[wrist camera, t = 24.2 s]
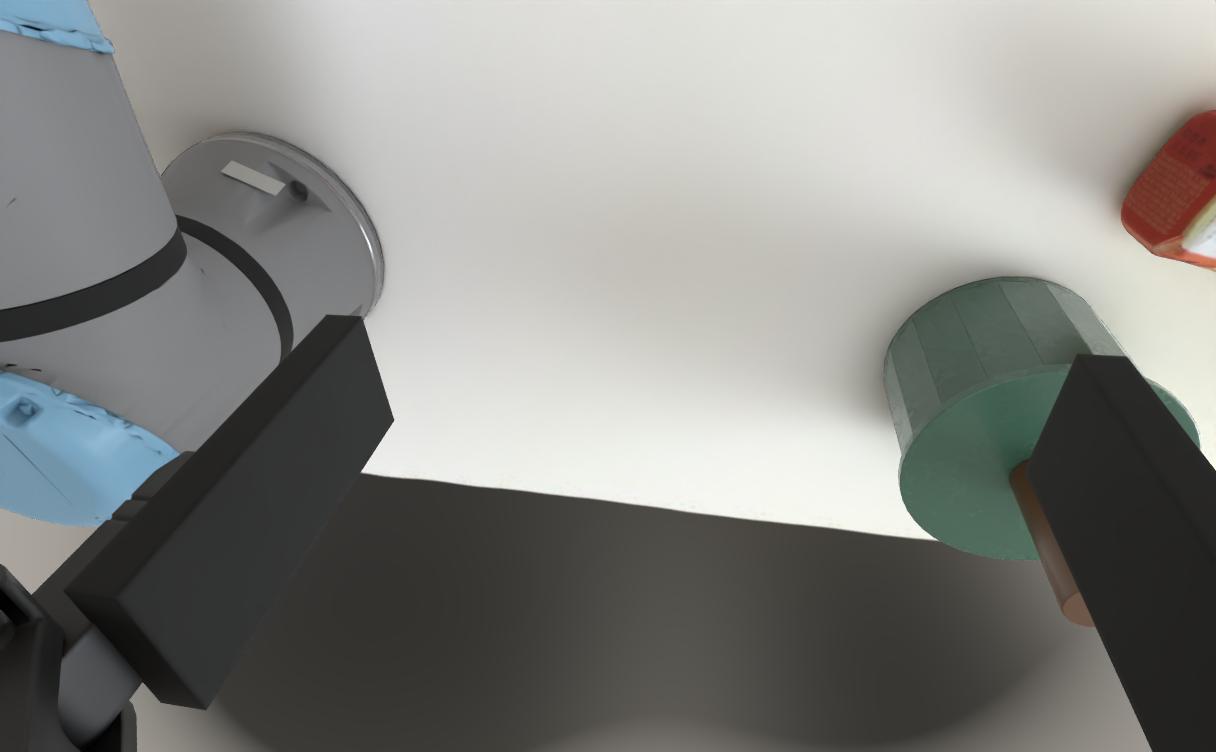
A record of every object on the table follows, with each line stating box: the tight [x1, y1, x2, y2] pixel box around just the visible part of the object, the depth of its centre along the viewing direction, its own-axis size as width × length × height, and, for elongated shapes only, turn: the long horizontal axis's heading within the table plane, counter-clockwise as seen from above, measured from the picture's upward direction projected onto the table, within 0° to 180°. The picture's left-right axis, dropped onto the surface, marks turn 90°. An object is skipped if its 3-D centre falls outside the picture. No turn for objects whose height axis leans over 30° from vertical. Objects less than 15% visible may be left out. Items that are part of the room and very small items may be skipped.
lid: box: [898, 364, 1201, 627], centre depth 33 cm, size 14×14×9 cm
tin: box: [884, 277, 1145, 454], centre depth 39 cm, size 13×13×10 cm
